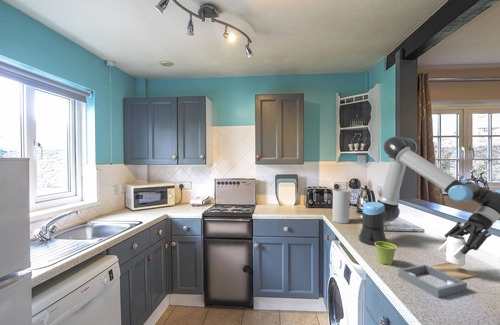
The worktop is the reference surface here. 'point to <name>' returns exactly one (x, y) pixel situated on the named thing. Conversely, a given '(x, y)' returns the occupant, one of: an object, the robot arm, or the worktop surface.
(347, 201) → the cylinder vase
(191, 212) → the worktop surface
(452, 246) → the can
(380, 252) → the plant pot
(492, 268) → the worktop surface
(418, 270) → the tray
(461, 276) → the pad
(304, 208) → the worktop surface
